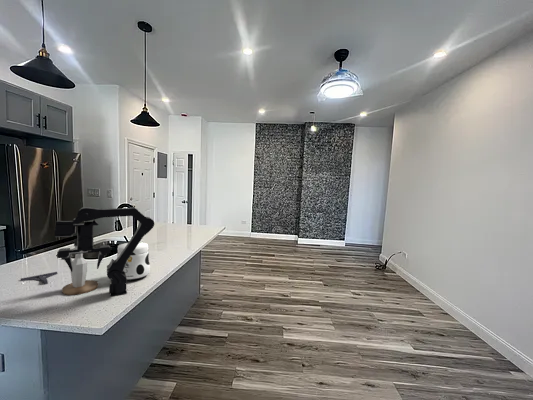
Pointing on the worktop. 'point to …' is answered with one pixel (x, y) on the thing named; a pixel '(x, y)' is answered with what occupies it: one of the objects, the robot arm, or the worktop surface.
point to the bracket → (40, 277)
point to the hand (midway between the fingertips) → (85, 270)
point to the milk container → (136, 261)
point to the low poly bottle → (79, 270)
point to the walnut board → (80, 288)
